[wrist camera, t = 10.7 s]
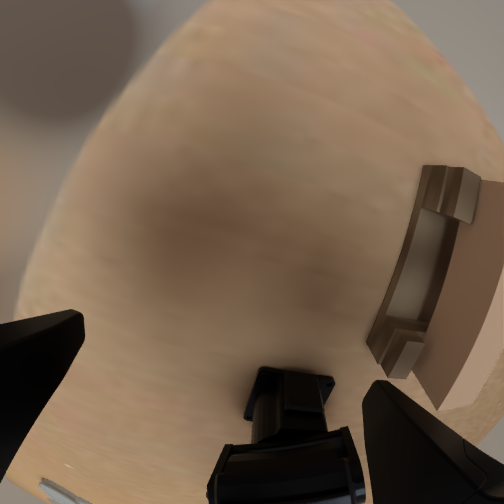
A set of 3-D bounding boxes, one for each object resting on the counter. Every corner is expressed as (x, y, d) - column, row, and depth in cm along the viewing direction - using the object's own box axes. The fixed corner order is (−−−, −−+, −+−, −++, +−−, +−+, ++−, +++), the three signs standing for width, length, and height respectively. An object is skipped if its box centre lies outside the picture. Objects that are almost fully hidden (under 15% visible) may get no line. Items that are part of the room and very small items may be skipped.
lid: (116, 520, 41) (113, 528, 38) (64, 500, 42) (61, 506, 40) (83, 493, 36) (79, 502, 33) (31, 469, 38) (27, 476, 35)
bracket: (444, 350, 20) (468, 379, 16) (366, 342, 20) (384, 377, 16) (498, 203, 17) (534, 212, 12) (423, 165, 17) (461, 165, 12)
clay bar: (443, 366, 18) (471, 404, 13) (410, 367, 18) (437, 411, 13) (497, 191, 14) (546, 201, 9) (466, 178, 14) (518, 184, 9)
